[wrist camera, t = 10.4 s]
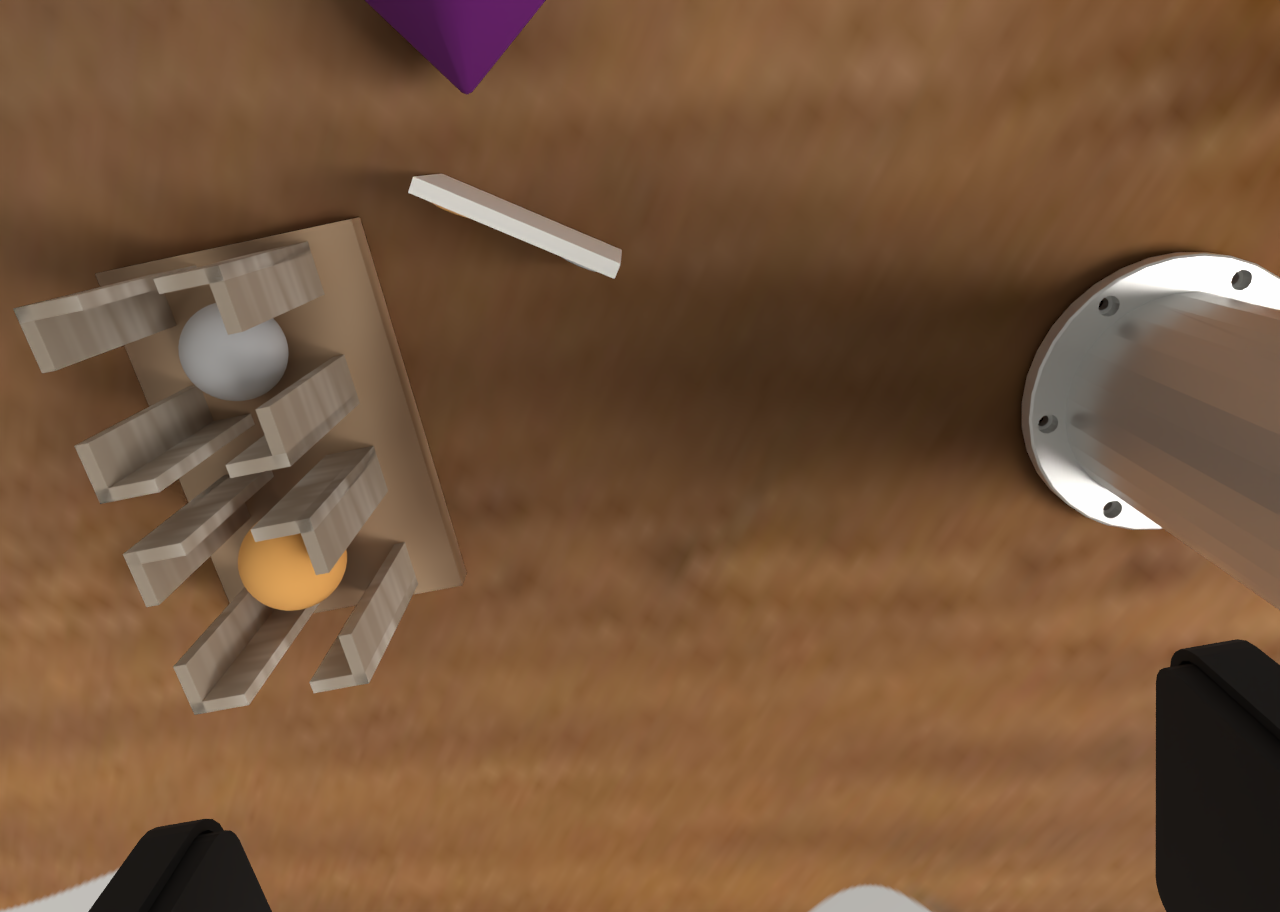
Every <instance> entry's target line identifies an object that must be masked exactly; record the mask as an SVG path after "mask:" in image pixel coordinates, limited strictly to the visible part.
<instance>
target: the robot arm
mask: <svg viewBox="0 0 1280 912" xmlns="http://www.w3.org/2000/svg"><path fill="white" fill-rule="evenodd" d="M1102 299H1103V304H1102V306H1101V307H1099V304H1100V302H1101V301H1102ZM1043 416H1044V419H1043V420H1042V422H1040V423H1039V420H1040V419H1041V418H1042V417H1043ZM1022 431H1023V436H1024V440H1025V445H1026V450H1027V453H1028V455H1029V457H1030V459H1031V461H1032V463H1033V466H1034V468H1035V470H1036V472H1037V473H1038V475H1039V476H1040V477H1041V479H1042V480H1043V481H1044V482H1045V484H1046V485H1047V486H1048V488H1049V489H1050V490H1051V491H1052V492H1053V493H1055V494H1056V495H1057V496H1058V497H1059V498H1060V499H1061V500H1063V501H1064V502H1065V503H1066V504H1067V505H1069V506H1070V507H1072V508H1073V509H1075V510H1076V511H1078V512H1080V513H1081V514H1083V515H1084V516H1086V517H1088V518H1090V519H1093V520H1095V521H1097V522H1100V523H1102V524H1105V525H1109V526H1114V527H1120V528H1126V529H1132V530H1150V529H1165V530H1166V531H1167V532H1169V533H1170V534H1172V535H1173V536H1175V537H1176V538H1177V539H1179V540H1180V541H1182V542H1183V543H1185V544H1186V545H1187V546H1189V547H1190V548H1192V549H1193V550H1195V551H1196V552H1197V553H1199V554H1200V555H1202V556H1203V557H1205V558H1206V559H1207V560H1209V561H1210V562H1212V563H1213V564H1215V565H1216V566H1217V567H1219V568H1220V569H1222V570H1223V571H1225V572H1226V573H1227V574H1229V575H1230V576H1232V577H1233V578H1235V579H1236V580H1237V581H1239V582H1240V583H1242V584H1243V585H1245V586H1246V587H1247V588H1249V589H1250V590H1252V591H1253V592H1255V593H1256V594H1257V595H1259V596H1260V597H1262V598H1263V599H1265V600H1266V601H1267V602H1269V603H1270V604H1272V605H1273V606H1275V607H1276V608H1277V609H1279V610H1280V278H1279V277H1278V276H1276V275H1274V274H1273V273H1271V272H1269V271H1268V270H1266V269H1264V268H1263V267H1261V266H1259V265H1257V264H1255V263H1252V262H1249V261H1246V260H1242V259H1239V258H1236V257H1233V256H1228V255H1222V254H1215V253H1209V252H1175V253H1170V254H1165V255H1160V256H1155V257H1150V258H1147V259H1144V260H1142V261H1139V262H1137V263H1134V264H1131V265H1129V266H1126V267H1124V268H1121V269H1119V270H1118V271H1116V272H1114V273H1113V274H1111V275H1109V276H1108V277H1106V278H1104V279H1102V280H1101V281H1099V282H1097V283H1096V284H1094V285H1093V286H1092V287H1091V288H1089V289H1088V290H1087V291H1086V292H1085V293H1084V294H1082V295H1081V296H1080V297H1079V298H1078V299H1076V300H1075V301H1074V302H1073V303H1072V304H1071V305H1070V306H1069V307H1068V308H1067V309H1066V310H1065V312H1064V313H1063V314H1062V315H1061V316H1060V317H1059V319H1058V320H1057V321H1056V322H1055V323H1054V324H1053V326H1052V327H1051V329H1050V330H1049V332H1048V334H1047V335H1046V337H1045V338H1044V340H1043V342H1042V343H1041V345H1040V347H1039V348H1038V350H1037V352H1036V354H1035V357H1034V360H1033V362H1032V365H1031V367H1030V370H1029V372H1028V375H1027V378H1026V383H1025V388H1024V393H1023V398H1022ZM1156 883H1157V888H1158V892H1159V895H1160V898H1161V901H1162V903H1163V906H1164V908H1165V910H1166V912H1280V665H1279V664H1278V663H1276V662H1275V661H1274V660H1272V659H1271V658H1270V657H1269V656H1267V655H1266V654H1265V653H1264V652H1262V651H1261V650H1260V649H1258V648H1257V647H1256V646H1254V645H1253V644H1251V643H1249V642H1247V641H1245V640H1238V639H1237V640H1231V641H1225V642H1220V643H1214V644H1208V645H1202V646H1197V647H1191V648H1185V649H1180V650H1178V651H1176V652H1175V653H1174V655H1173V657H1172V659H1171V665H1170V667H1168V668H1163V669H1161V670H1160V671H1159V673H1158V674H1157V680H1156ZM89 912H272V911H271V909H270V907H269V904H268V902H267V900H266V898H265V896H264V893H263V891H262V889H261V887H260V885H259V882H258V880H257V878H256V876H255V873H254V871H253V869H252V867H251V865H250V862H249V860H248V858H247V856H246V854H245V851H244V849H243V847H242V845H241V843H240V840H239V839H238V837H237V836H236V834H235V833H233V832H232V831H226V830H225V831H224V830H223V828H222V827H221V825H220V824H219V823H217V822H216V821H215V820H213V819H202V820H196V821H190V822H184V823H179V824H173V825H167V826H161V827H156V828H154V829H152V830H150V831H148V832H147V833H146V834H145V835H144V836H143V837H142V838H141V839H140V840H139V842H138V843H137V845H136V846H135V847H134V849H133V850H132V852H131V853H130V854H129V856H128V857H127V859H126V860H125V861H124V863H123V864H122V866H121V867H120V868H119V870H118V871H117V873H116V874H115V875H114V877H113V878H112V879H111V881H110V882H109V884H108V885H107V886H106V888H105V889H104V891H103V892H102V893H101V895H100V896H99V898H98V899H97V900H96V902H95V903H94V905H93V906H92V908H91V909H90V910H89Z"/></svg>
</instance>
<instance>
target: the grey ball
mask: <svg viewBox="0 0 1280 912" xmlns="http://www.w3.org/2000/svg"><path fill="white" fill-rule="evenodd" d="M178 349H179V358H180V362H181V365H182V368H183V370H184V372H185V373H186V375H187V377H188V378H189V379H190V380H191V382H192V383H193V384H194V385H195V386H197V387H198V388H199V389H200V390H202V391H203V392H205V393H207V394H209V395H211V396H213V397H216V398H218V399H222V400H228V401H245V400H250V399H254V398H257V397H259V396H261V395H263V394H265V393H267V392H268V391H270V390H271V389H272V388H273V387H274V386H275V385H276V384H277V383H278V382H279V381H280V379H281V378H282V376H283V374H284V372H285V370H286V367H287V363H288V356H289V355H288V344H287V340H286V337H285V335H284V333H283V331H282V329H281V327H280V326H279V324H278V323H277V322H276V321H275V320H274V319H273V318H272V319H270V320H268V321H266V322H263V323H261V324H259V325H257V326H255V327H252V328H250V329H248V330H246V331H244V332H240V333H235V334H230V335H228V334H227V331H226V328H225V325H224V323H223V320H222V317H221V315H220V312H219V309H218V306H217V304H216V303H214V304H210V305H208V306H206V307H204V308H202V309H201V310H199V311H197V312H196V313H195V314H194V315H193V316H192V317H191V318H190V319H189V320H188V321H187V323H186V324H185V326H184V328H183V330H182V332H181V335H180V339H179V346H178Z"/></svg>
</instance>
